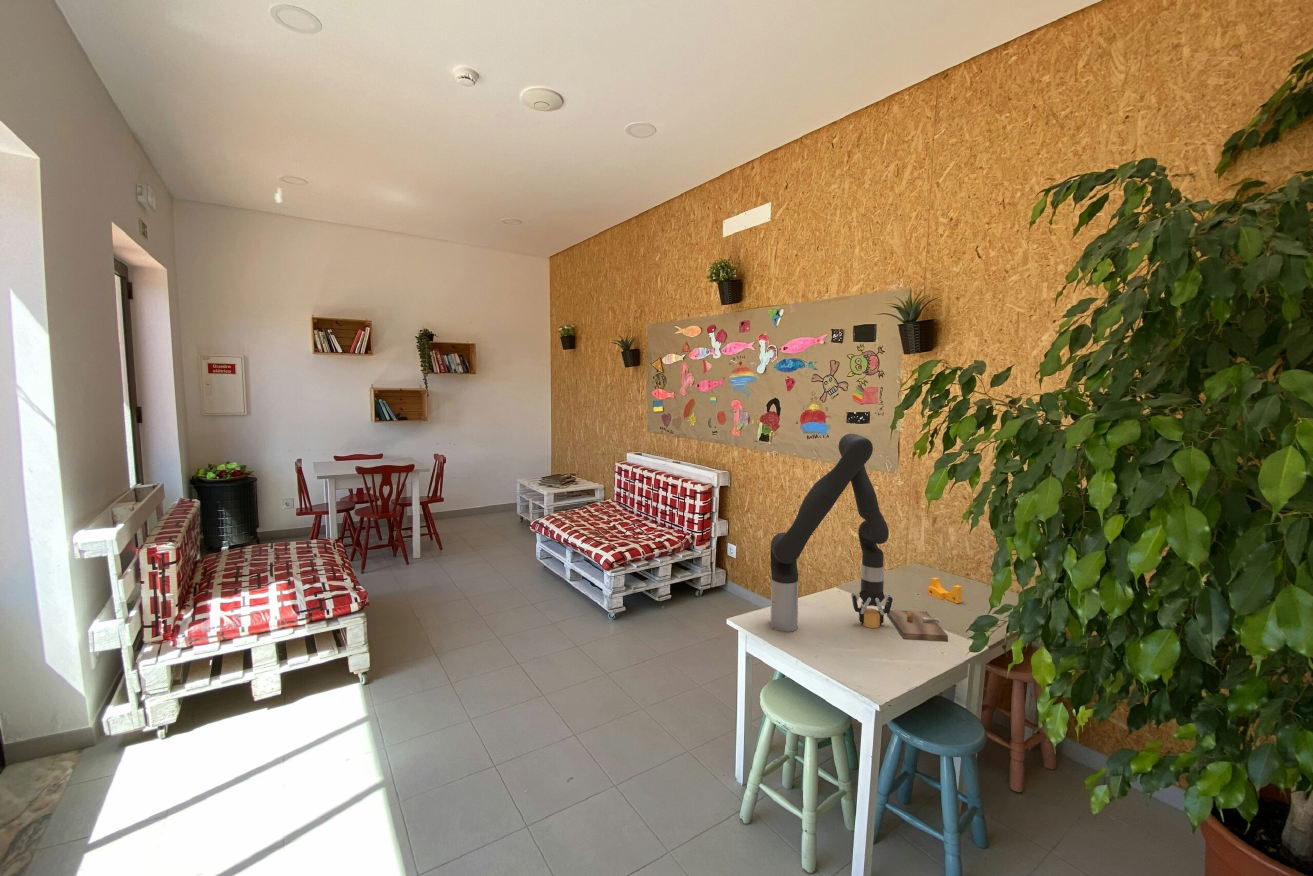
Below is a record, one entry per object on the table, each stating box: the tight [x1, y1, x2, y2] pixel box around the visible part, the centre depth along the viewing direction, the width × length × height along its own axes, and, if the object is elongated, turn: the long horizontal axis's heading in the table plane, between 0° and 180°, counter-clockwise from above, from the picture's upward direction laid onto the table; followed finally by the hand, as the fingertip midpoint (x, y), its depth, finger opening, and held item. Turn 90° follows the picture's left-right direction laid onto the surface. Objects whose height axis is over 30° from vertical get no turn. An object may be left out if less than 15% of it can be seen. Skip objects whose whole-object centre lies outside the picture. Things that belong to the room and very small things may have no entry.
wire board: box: [886, 609, 949, 642], centre depth 190 cm, size 14×20×6 cm
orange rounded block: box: [862, 607, 881, 629], centre depth 192 cm, size 5×5×5 cm
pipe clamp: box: [927, 576, 963, 604], centre depth 217 cm, size 12×4×6 cm, turn 25°
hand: (871, 623), depth 192 cm, fingers closed on orange rounded block, 5 cm apart
